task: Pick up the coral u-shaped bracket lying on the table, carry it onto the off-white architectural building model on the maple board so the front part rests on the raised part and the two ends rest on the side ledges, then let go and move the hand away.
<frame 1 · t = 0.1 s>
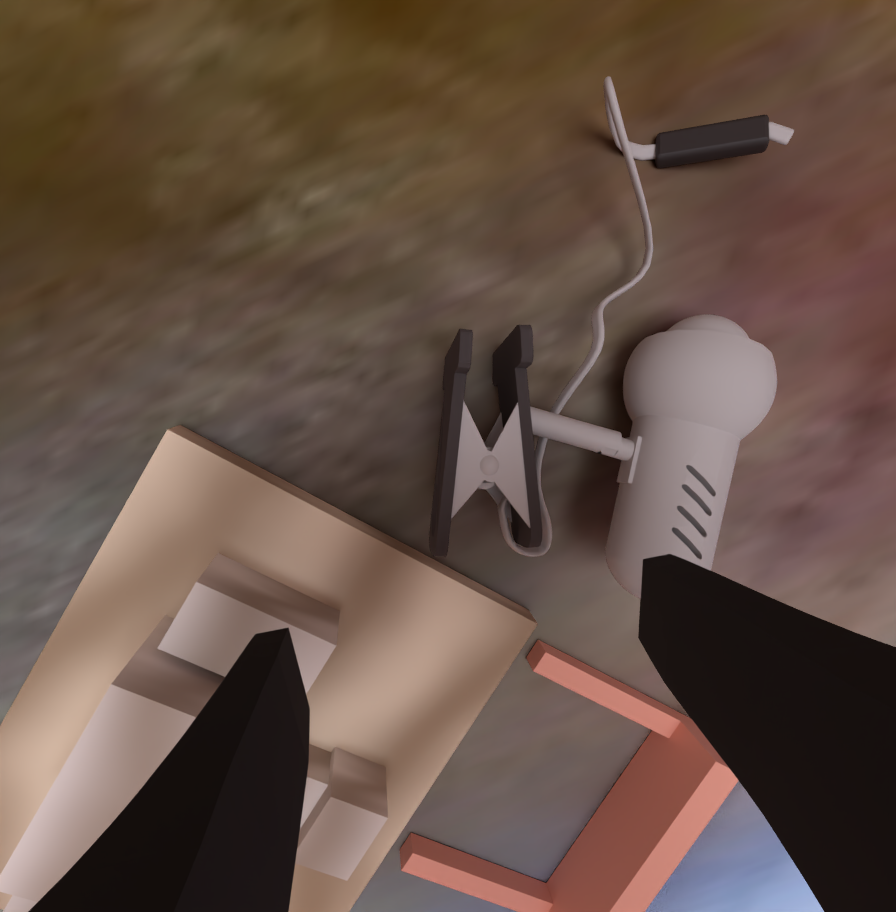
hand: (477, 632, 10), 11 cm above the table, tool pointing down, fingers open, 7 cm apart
u-shaped bracket: (612, 809, 25), on the table
architectural building model: (248, 725, 21), on the table
clip-on lamp: (588, 343, 20), on the table
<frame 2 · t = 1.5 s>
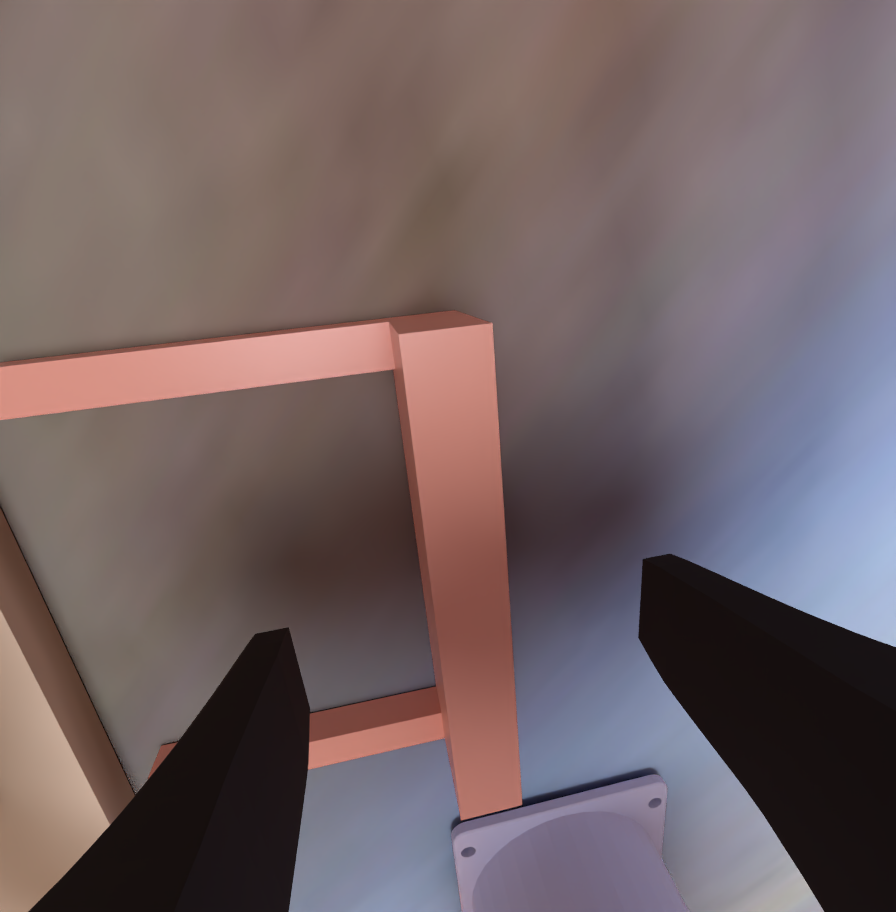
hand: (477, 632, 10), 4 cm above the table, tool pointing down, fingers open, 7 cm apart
u-shaped bracket: (445, 540, 14), on the table
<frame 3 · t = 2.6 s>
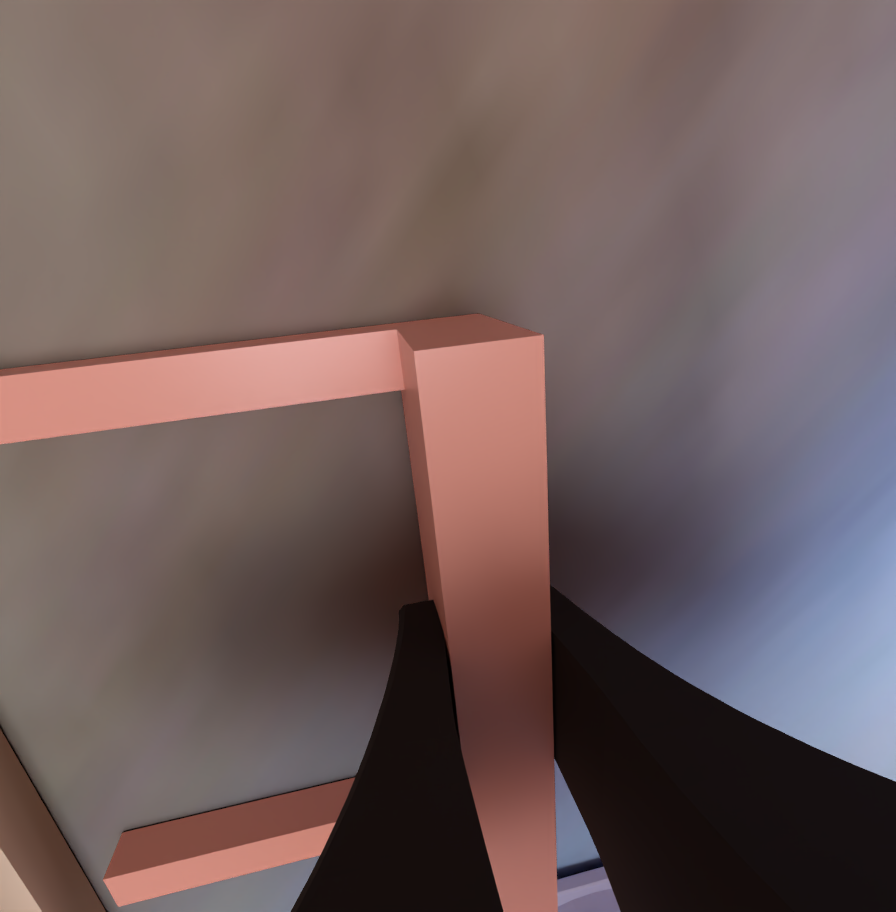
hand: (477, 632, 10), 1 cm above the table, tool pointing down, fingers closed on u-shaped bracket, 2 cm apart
u-shaped bracket: (463, 590, 11), on the table, touching gripper
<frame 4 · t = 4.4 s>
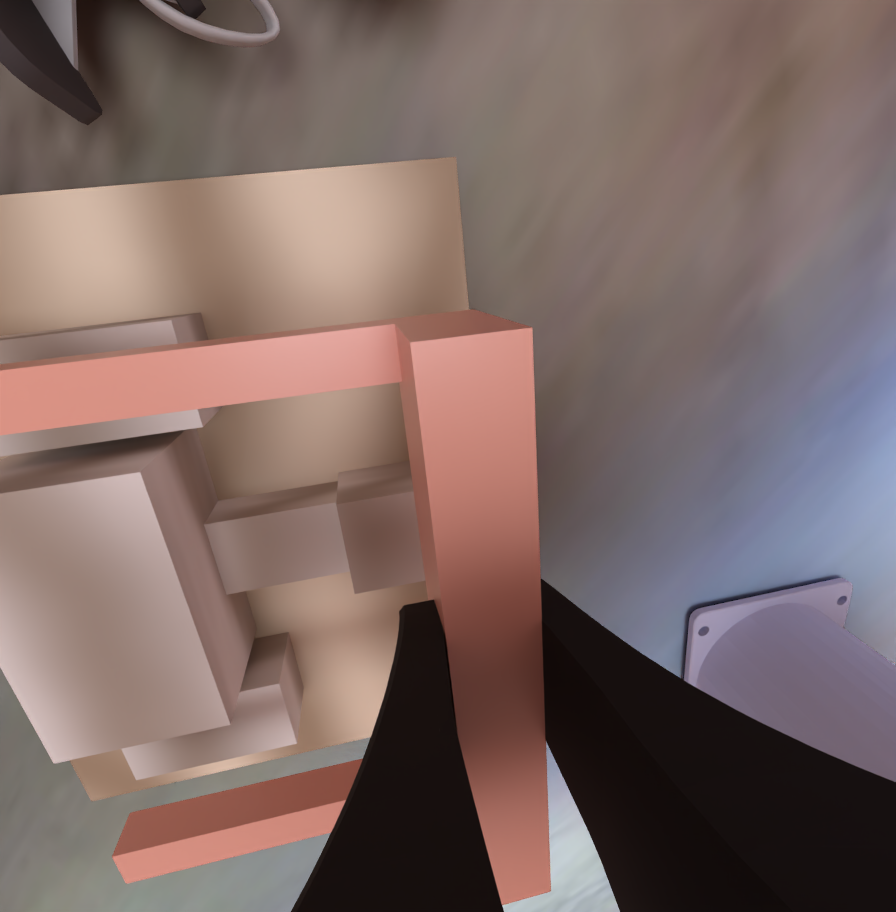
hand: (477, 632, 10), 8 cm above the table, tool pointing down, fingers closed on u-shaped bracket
u-shaped bracket: (459, 577, 12), point 7 cm above the table, touching gripper
architectural building model: (251, 514, 17), on the table
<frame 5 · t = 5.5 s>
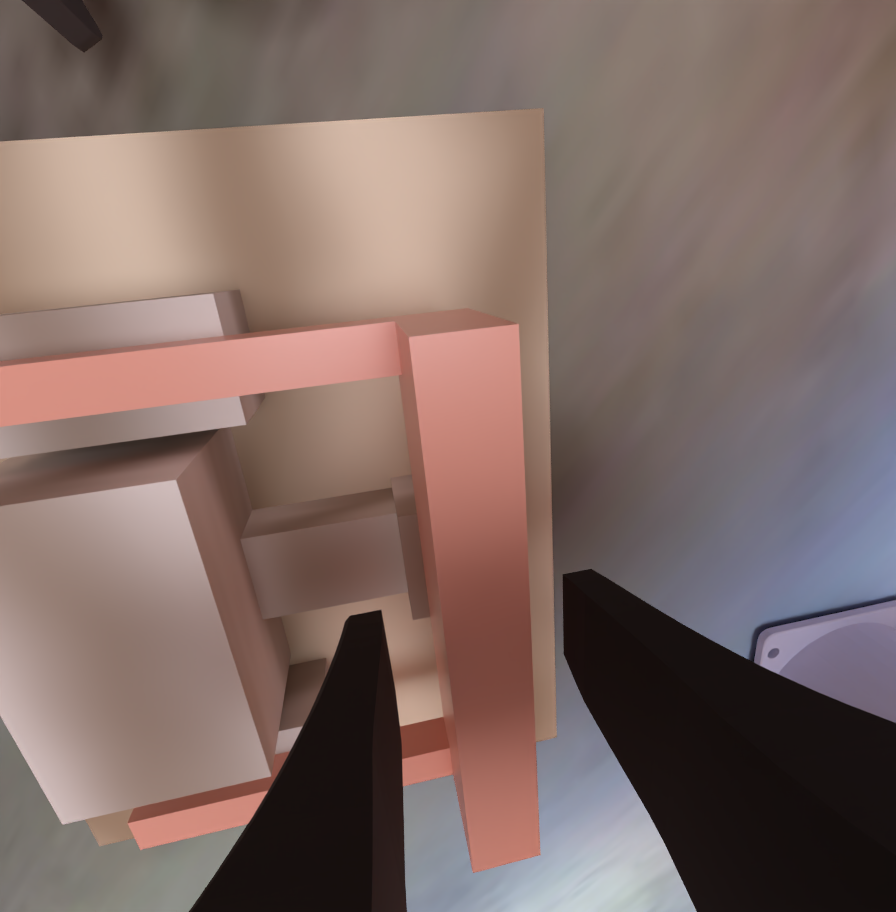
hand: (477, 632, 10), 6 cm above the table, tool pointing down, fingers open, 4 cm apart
u-shaped bracket: (455, 561, 12), point 4 cm above the table, touching architectural building model
architectural building model: (286, 524, 15), on the table
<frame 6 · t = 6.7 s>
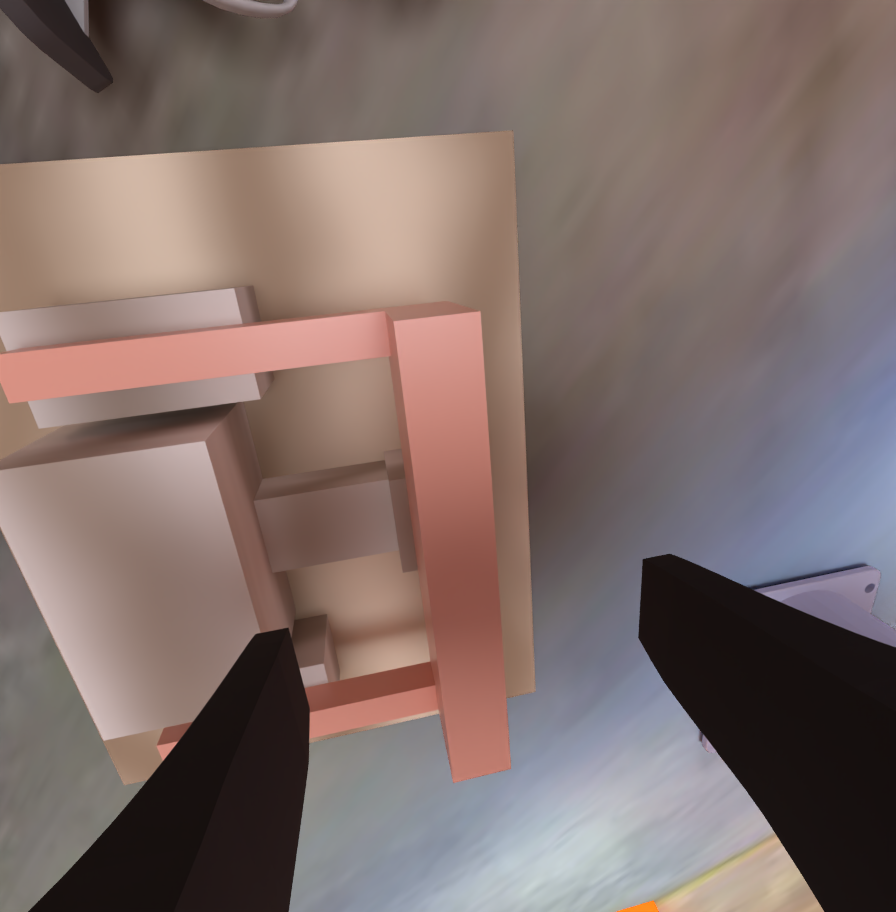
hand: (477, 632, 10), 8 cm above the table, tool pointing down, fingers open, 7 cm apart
u-shaped bracket: (439, 520, 14), point 4 cm above the table, touching architectural building model
architectural building model: (291, 494, 17), on the table
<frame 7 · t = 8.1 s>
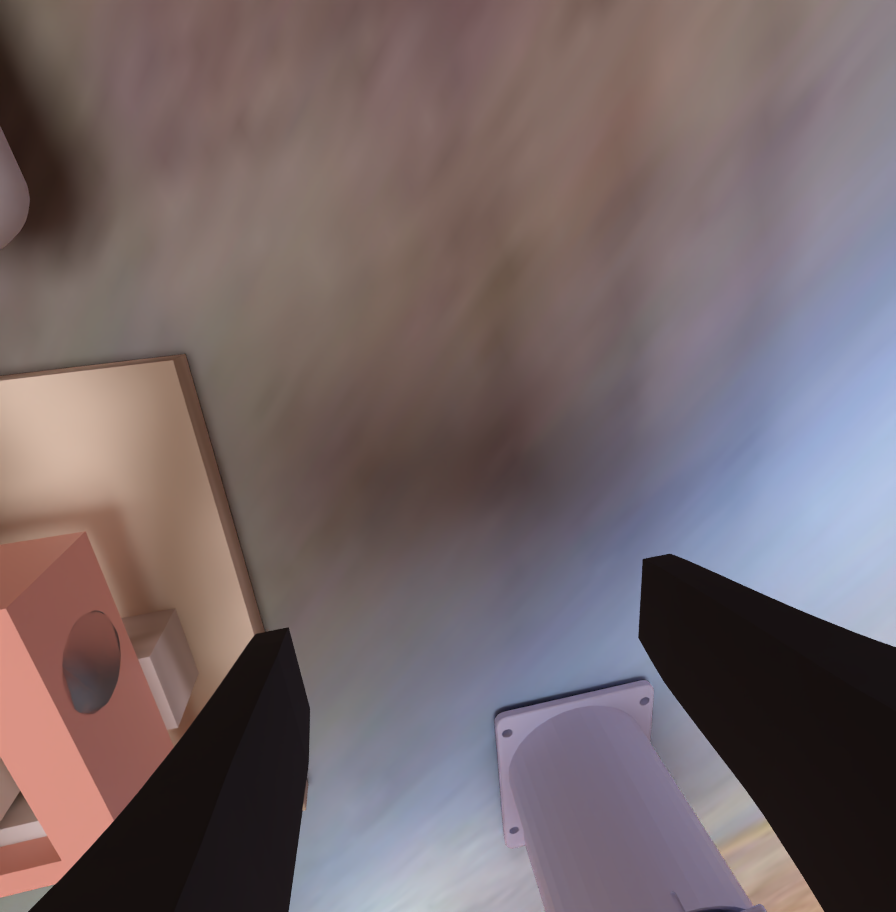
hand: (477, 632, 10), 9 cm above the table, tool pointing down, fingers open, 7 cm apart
u-shaped bracket: (126, 700, 16), point 4 cm above the table, touching architectural building model
architectural building model: (36, 650, 18), on the table
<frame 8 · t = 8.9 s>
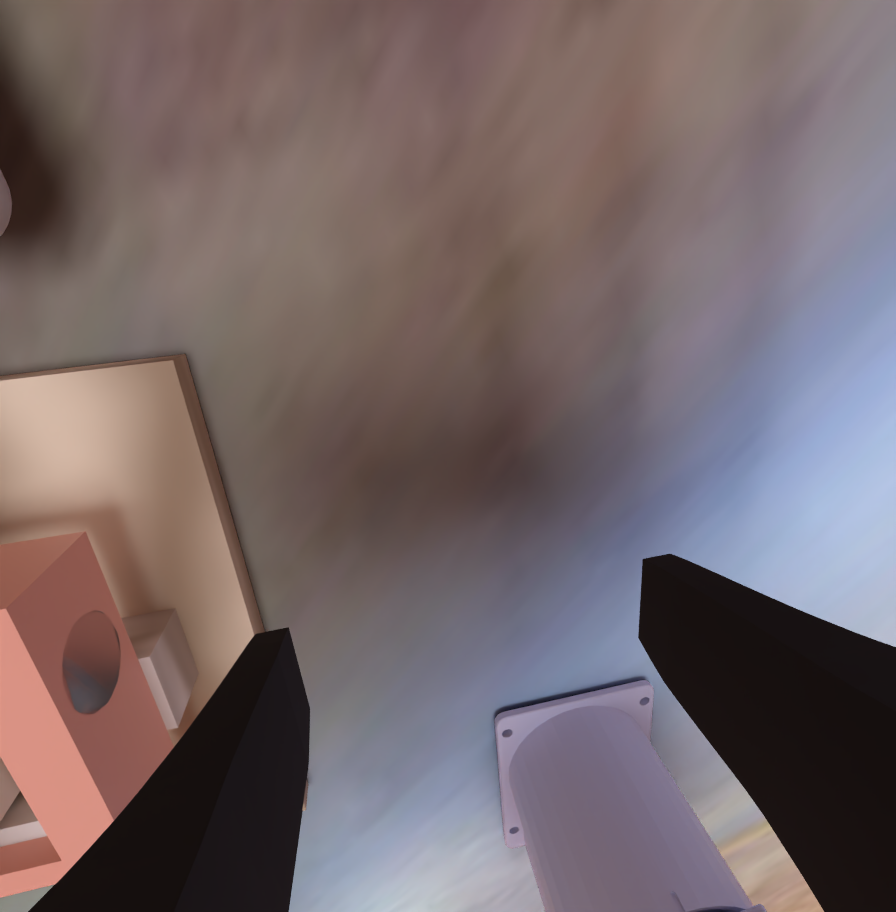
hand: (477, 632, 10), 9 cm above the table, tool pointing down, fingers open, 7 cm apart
u-shaped bracket: (126, 700, 16), point 4 cm above the table, touching architectural building model
architectural building model: (36, 650, 18), on the table
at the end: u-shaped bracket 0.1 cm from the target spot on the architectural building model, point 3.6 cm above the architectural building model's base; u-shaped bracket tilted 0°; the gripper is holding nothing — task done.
